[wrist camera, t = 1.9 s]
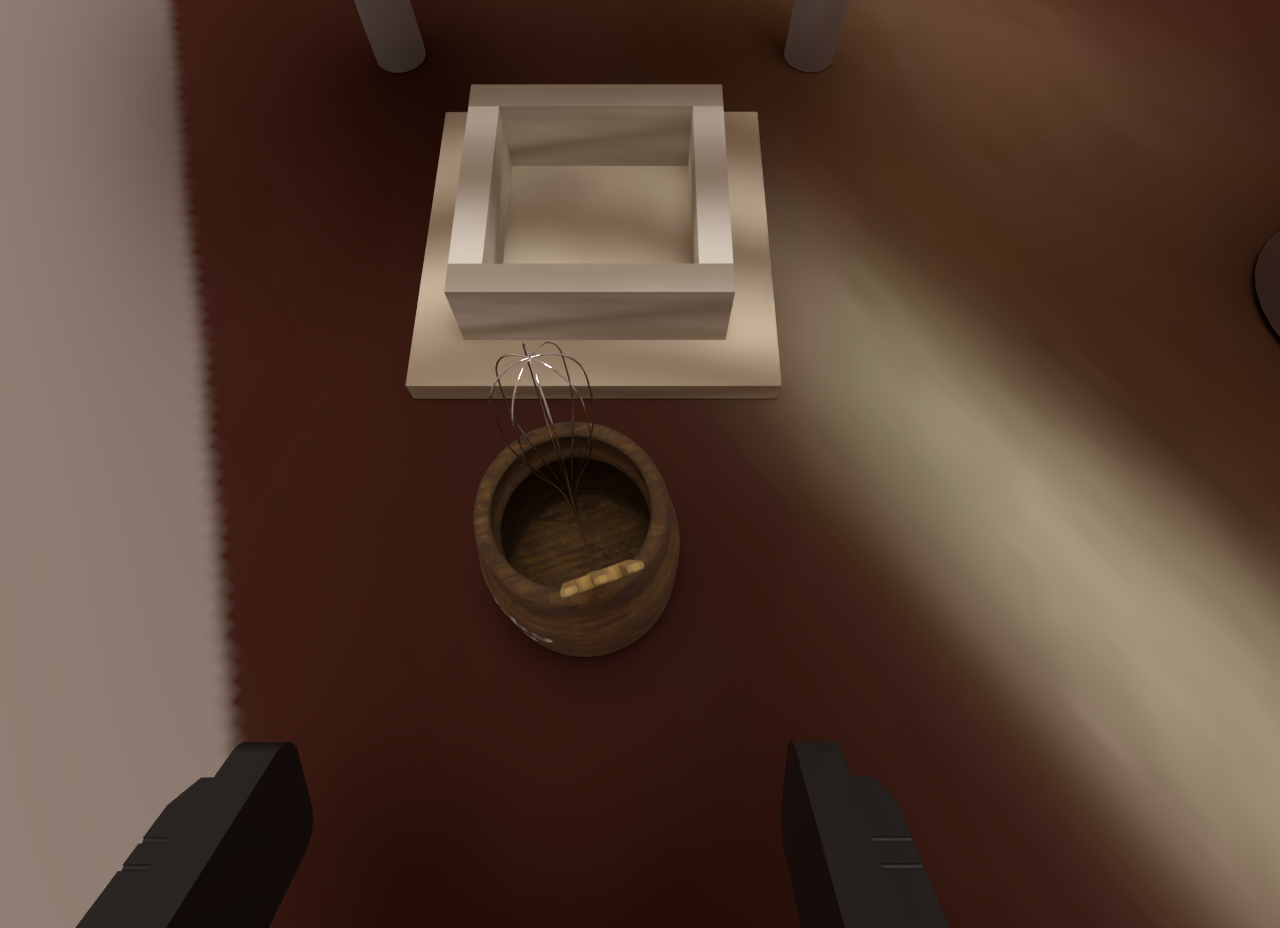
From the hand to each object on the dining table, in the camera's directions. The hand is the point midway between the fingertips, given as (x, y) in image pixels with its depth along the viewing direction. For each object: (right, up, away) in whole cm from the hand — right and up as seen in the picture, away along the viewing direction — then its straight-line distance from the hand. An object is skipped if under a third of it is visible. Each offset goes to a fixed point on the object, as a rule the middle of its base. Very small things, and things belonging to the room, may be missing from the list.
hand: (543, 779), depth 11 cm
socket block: (0, +14, +18) cm, 23 cm away
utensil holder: (0, +1, +13) cm, 13 cm away
